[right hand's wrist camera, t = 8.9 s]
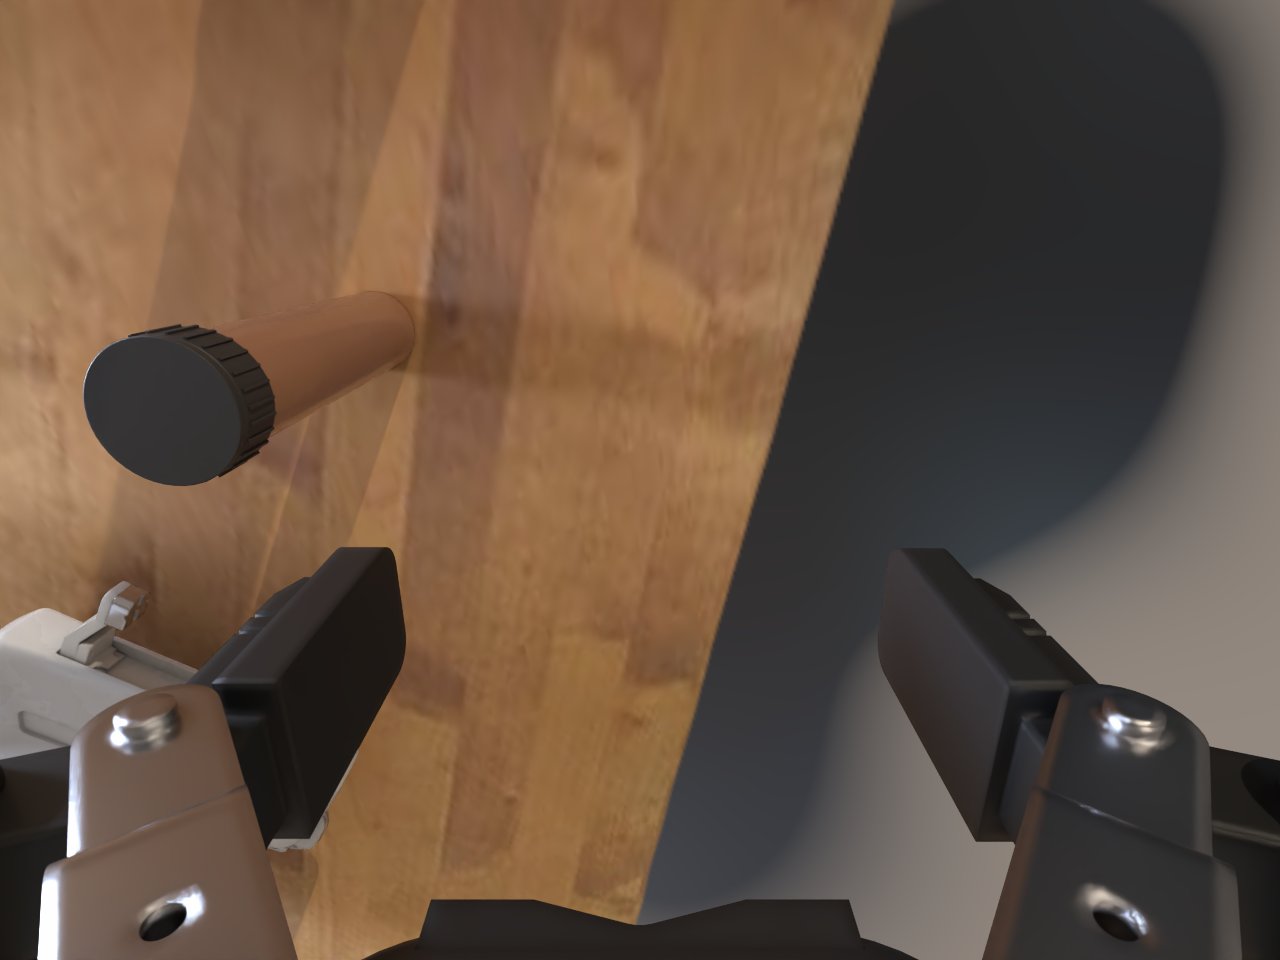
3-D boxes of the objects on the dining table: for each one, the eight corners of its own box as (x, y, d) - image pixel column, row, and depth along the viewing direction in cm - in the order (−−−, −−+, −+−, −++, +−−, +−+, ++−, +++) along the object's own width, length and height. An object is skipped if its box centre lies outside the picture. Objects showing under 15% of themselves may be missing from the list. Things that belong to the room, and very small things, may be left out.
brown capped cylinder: (359, 275, 37) (130, 313, 20) (429, 321, 38) (263, 394, 21) (324, 340, 38) (81, 426, 21) (392, 383, 39) (209, 499, 22)
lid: (162, 292, 22) (113, 299, 20) (303, 379, 23) (270, 394, 21) (108, 414, 23) (56, 432, 21) (243, 491, 24) (206, 516, 22)
